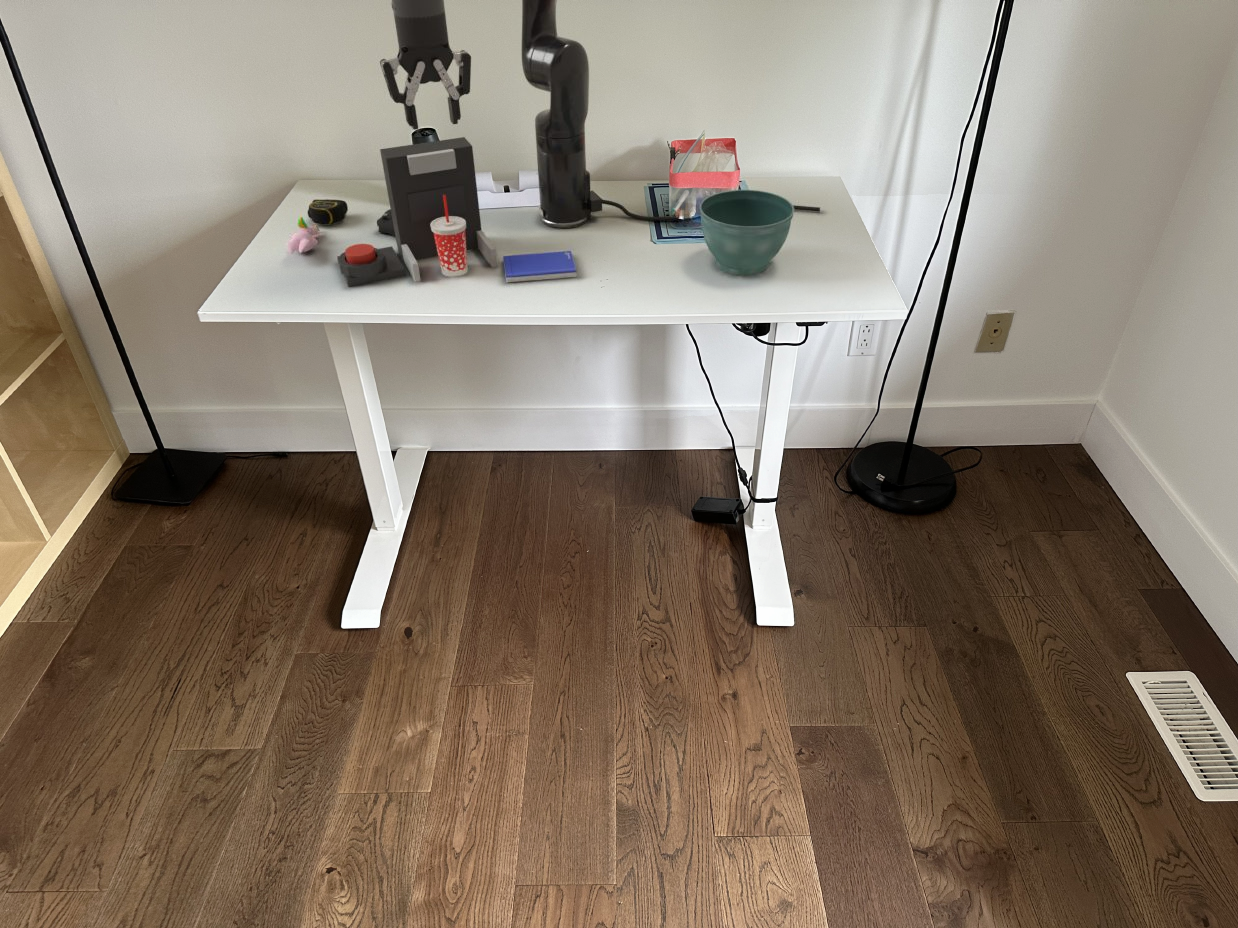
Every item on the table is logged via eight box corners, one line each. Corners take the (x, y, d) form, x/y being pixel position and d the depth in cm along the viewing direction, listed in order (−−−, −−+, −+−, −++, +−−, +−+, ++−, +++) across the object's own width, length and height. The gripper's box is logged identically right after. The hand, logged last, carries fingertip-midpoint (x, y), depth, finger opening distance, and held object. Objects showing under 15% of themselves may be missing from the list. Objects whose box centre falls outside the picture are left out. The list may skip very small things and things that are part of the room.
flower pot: (685, 276, 153) (687, 218, 146) (711, 240, 164) (715, 184, 158) (774, 292, 148) (782, 232, 141) (795, 253, 160) (803, 196, 153)
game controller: (407, 236, 164) (382, 213, 162) (392, 253, 167) (367, 230, 165) (426, 215, 171) (402, 193, 169) (411, 232, 174) (387, 210, 172)
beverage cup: (462, 281, 152) (452, 204, 143) (431, 276, 153) (419, 199, 144) (477, 266, 156) (468, 190, 147) (447, 261, 158) (436, 186, 149)
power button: (373, 250, 154) (371, 241, 153) (378, 262, 151) (377, 253, 150) (344, 256, 153) (342, 246, 152) (349, 267, 149) (347, 258, 148)
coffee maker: (476, 237, 166) (464, 137, 154) (497, 266, 156) (486, 162, 144) (398, 251, 161) (379, 149, 149) (415, 282, 151) (397, 175, 139)
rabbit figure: (296, 241, 168) (280, 263, 155) (290, 210, 165) (272, 230, 152) (329, 239, 168) (316, 261, 155) (323, 208, 165) (309, 228, 153)
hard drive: (571, 249, 158) (502, 254, 156) (576, 269, 151) (505, 275, 150) (571, 257, 159) (503, 263, 157) (576, 277, 152) (506, 283, 151)
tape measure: (350, 215, 174) (347, 197, 172) (340, 229, 169) (336, 210, 167) (317, 214, 175) (313, 196, 172) (306, 228, 169) (301, 210, 167)
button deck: (393, 254, 160) (390, 236, 158) (406, 277, 153) (403, 259, 151) (336, 264, 157) (332, 246, 155) (346, 289, 150) (342, 270, 147)
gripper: (375, 19, 123) (395, 139, 134) (473, 10, 128) (484, 126, 138) (365, 9, 129) (385, 125, 139) (459, 0, 133) (471, 113, 144)
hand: (434, 125), depth 139 cm, fingers open, 6 cm apart
